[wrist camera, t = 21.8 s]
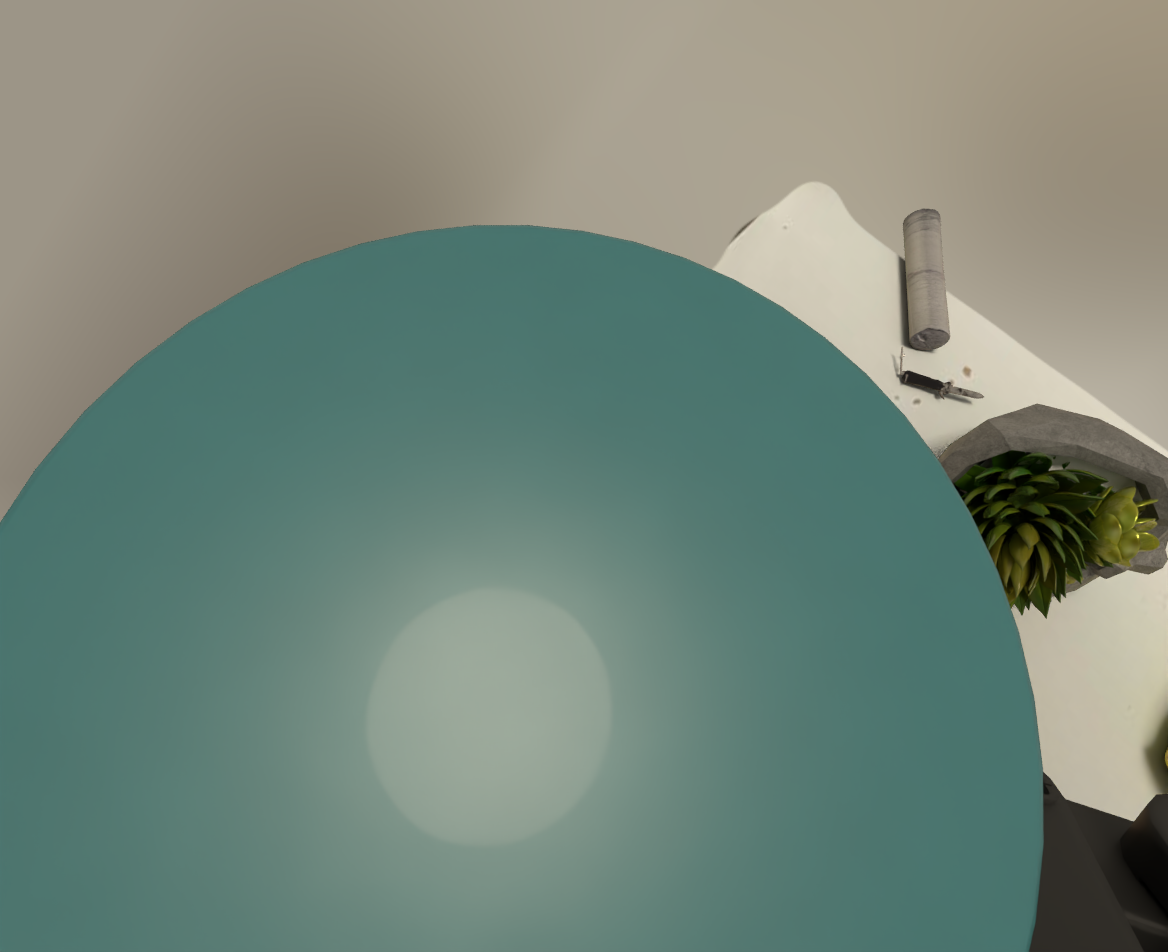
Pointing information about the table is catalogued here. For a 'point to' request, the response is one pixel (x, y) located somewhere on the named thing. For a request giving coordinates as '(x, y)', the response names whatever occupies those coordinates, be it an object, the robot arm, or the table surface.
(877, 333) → the table surface
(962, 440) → the potted plant
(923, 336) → the rod
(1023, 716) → the tin
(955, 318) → the table surface
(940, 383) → the knife
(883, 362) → the table surface
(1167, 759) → the bottle
